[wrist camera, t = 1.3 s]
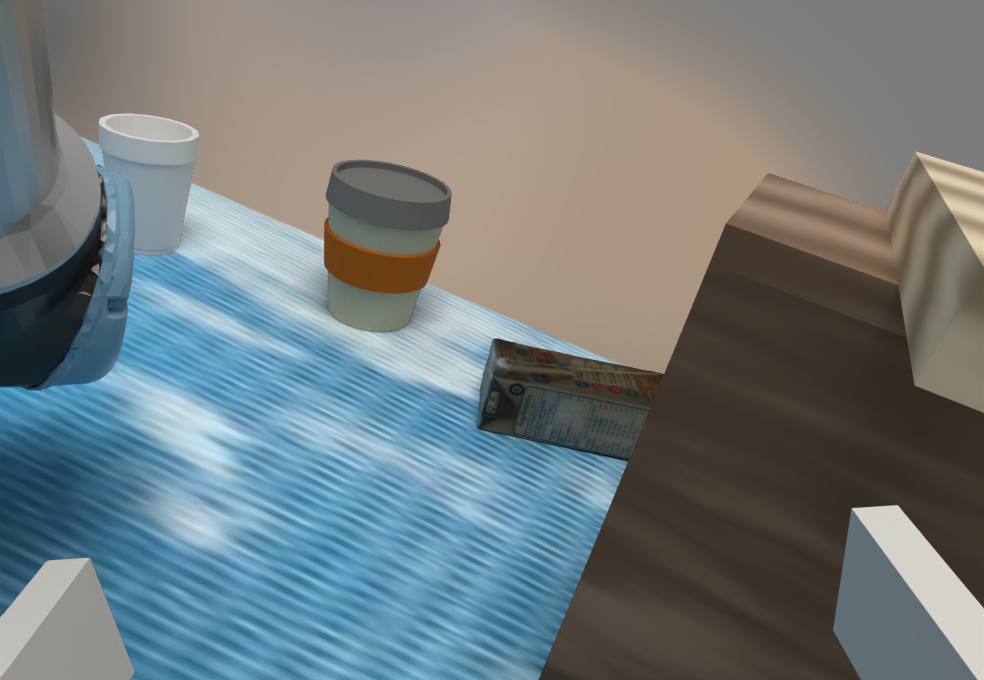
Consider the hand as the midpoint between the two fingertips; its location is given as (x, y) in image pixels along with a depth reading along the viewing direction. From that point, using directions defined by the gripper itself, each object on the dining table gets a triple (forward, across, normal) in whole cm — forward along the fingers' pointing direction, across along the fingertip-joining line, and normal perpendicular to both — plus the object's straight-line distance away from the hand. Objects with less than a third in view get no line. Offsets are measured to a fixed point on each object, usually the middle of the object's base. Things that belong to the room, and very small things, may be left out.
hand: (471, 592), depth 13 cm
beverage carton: (+49, +6, -27) cm, 57 cm away
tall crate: (+20, +10, -30) cm, 37 cm away
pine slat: (+15, +17, -1) cm, 23 cm away
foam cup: (+68, -39, -11) cm, 79 cm away
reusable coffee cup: (+64, -15, -19) cm, 68 cm away
